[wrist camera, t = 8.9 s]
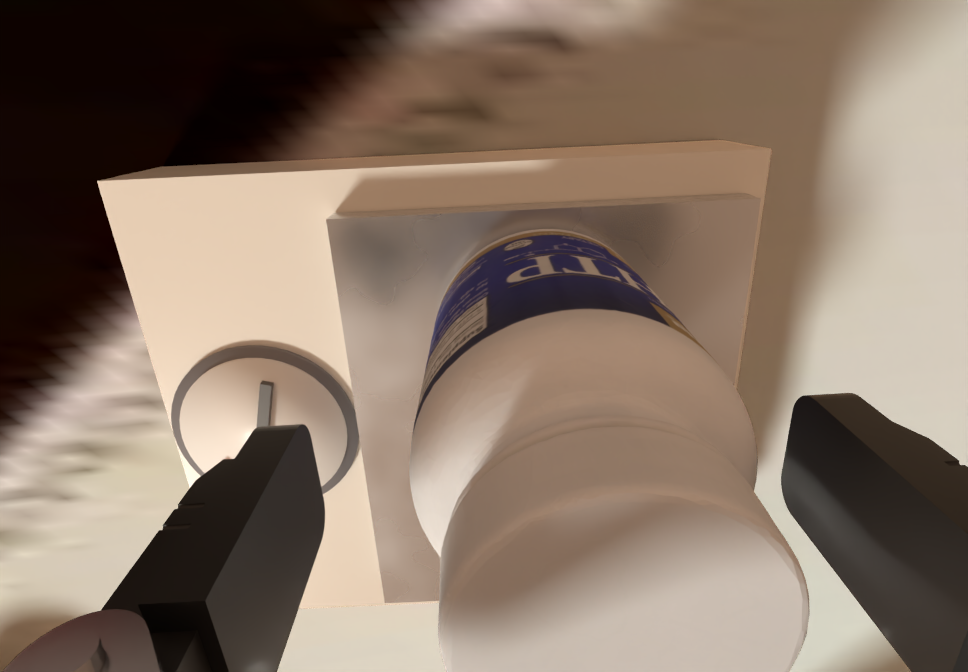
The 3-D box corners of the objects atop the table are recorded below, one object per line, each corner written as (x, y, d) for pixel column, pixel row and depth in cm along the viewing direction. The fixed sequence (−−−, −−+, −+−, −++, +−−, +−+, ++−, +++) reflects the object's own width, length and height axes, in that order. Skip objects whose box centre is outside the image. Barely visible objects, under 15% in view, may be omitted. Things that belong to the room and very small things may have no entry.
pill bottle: (686, 273, 14) (998, 539, 6) (588, 444, 16) (714, 832, 7) (481, 188, 13) (492, 351, 5) (405, 380, 15) (317, 736, 7)
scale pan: (745, 192, 14) (761, 198, 13) (695, 569, 18) (705, 588, 18) (334, 212, 14) (325, 219, 13) (388, 582, 18) (384, 603, 18)
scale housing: (721, 139, 16) (782, 150, 13) (678, 527, 22) (713, 603, 18) (161, 166, 16) (83, 184, 13) (259, 546, 22) (221, 624, 18)
